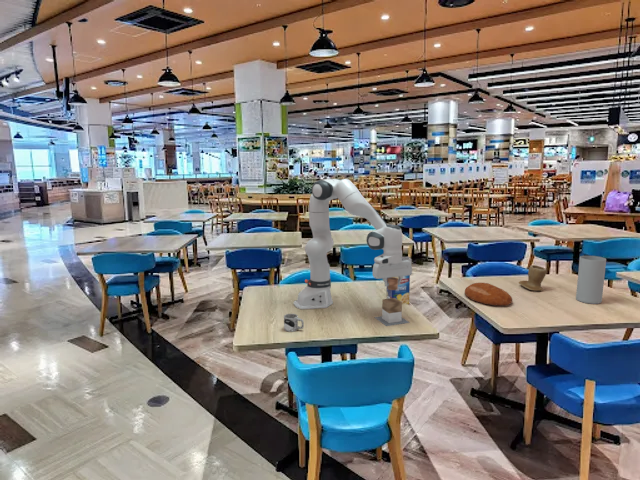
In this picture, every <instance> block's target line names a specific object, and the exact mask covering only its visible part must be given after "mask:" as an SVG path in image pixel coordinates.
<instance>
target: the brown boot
mask: <svg viewBox="0 0 640 480" xmlns="http://www.w3.org/2000/svg"><path fill="white" fill-rule="evenodd" d="M527 275H528V276H527V277H528V278H527V279H528V280H520V281H518V284H519V285H520V286H522V287H523V288H525V289H527V290H528V291H529V290H530V291H532V292H533V291H534V292H541V291H544V288H543V286H542V282H543V280H544V279H545V278H546V275H547V268H545V267H542V266H540V265H535V264H531V265H530V266H529V267H528V272H527Z"/></svg>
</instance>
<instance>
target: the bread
mask: <svg viewBox="0 0 640 480" xmlns="http://www.w3.org/2000/svg"><path fill="white" fill-rule="evenodd" d="M464 289H465V290H464V295H465V296H466V297H467V298H468V299H470V300H472V301H473V302H477V303H481V304H483V305H484V304H485V305H490V306H496V307H497V306H500V307H502V306H503V307H505V306H509V305H511V304H512V302H513V298H512V296H511V295H510V294H509V292H507V291H505V290H504V289H502V288H499V287H498V286H496V285H494V284H491V283H488V282H476V283H472V284H470V285H468V286H467V287H466V288H464Z"/></svg>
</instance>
